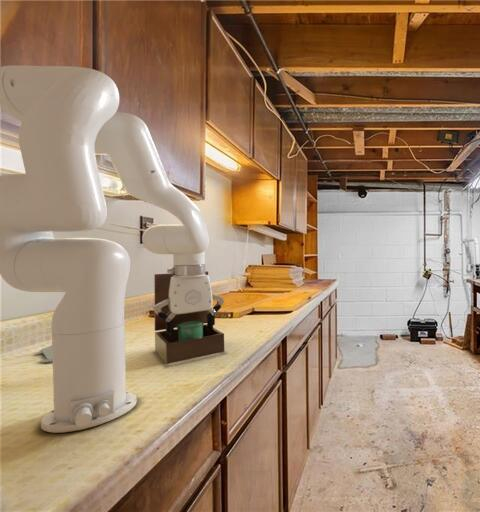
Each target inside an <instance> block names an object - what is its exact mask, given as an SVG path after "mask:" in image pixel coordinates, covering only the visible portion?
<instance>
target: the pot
mask: <svg viewBox="0 0 480 512" xmlns="http://www.w3.org/2000/svg"><path fill="white" fill-rule="evenodd" d="M203 325H205V323H204V322H202V321H189V322H183V323H180V324H178V325H177V328H176V329H178V341H182V340H188V339H193V338H199V337H203Z"/></svg>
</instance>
